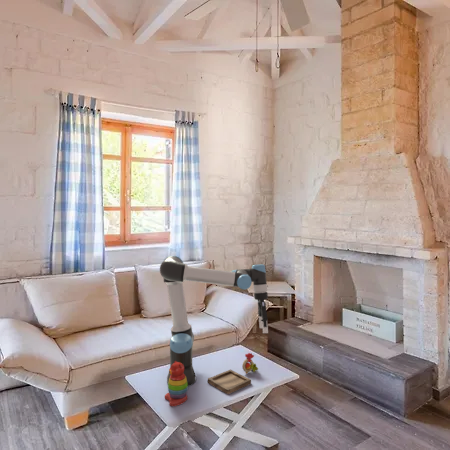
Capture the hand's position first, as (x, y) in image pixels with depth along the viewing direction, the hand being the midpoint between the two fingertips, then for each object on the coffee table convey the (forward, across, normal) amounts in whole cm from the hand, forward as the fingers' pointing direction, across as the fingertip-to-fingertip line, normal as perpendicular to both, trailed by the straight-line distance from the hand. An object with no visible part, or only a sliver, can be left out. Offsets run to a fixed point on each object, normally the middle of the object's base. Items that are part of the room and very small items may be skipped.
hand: (263, 330), depth 202 cm
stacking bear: (+24, -24, +47) cm, 58 cm away
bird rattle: (+23, +2, +10) cm, 25 cm away
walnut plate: (+23, -10, +22) cm, 33 cm away
